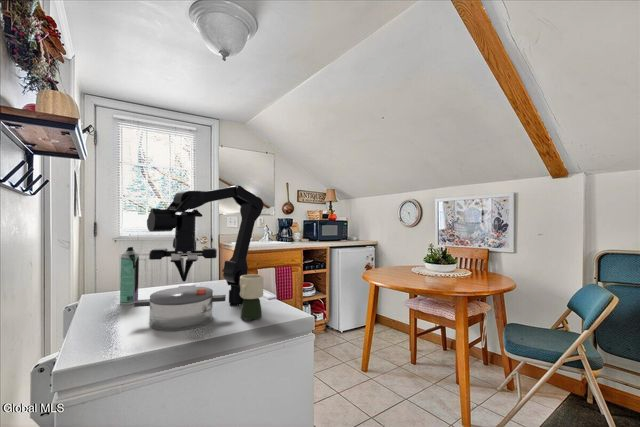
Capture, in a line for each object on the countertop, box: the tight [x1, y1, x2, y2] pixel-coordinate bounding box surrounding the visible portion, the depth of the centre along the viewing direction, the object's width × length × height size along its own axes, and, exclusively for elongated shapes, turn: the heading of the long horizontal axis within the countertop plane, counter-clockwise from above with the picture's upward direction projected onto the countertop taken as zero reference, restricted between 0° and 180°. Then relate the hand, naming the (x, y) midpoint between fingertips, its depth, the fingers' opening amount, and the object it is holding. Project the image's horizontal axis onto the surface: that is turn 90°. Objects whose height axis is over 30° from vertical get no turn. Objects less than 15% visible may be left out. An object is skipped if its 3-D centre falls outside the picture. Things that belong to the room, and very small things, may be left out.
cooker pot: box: [133, 294, 227, 332], centre depth 90 cm, size 25×17×7 cm
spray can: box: [119, 246, 140, 306], centre depth 108 cm, size 6×6×20 cm
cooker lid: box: [149, 284, 214, 305], centre depth 91 cm, size 17×19×3 cm
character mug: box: [240, 273, 264, 321], centre depth 93 cm, size 11×7×13 cm, turn 163°
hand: (184, 281), depth 94 cm, fingers closed
